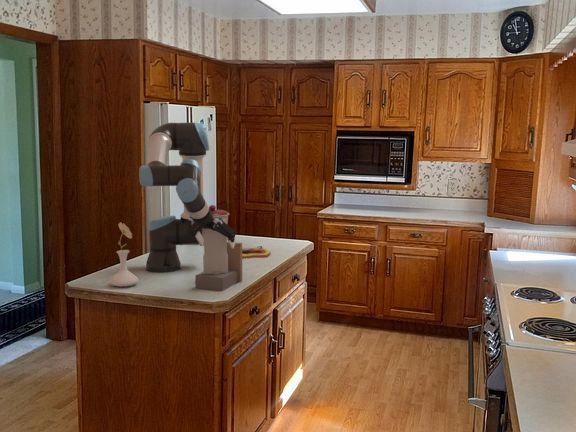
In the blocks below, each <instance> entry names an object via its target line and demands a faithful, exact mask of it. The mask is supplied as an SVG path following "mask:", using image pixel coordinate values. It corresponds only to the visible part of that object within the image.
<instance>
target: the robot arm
mask: <svg viewBox="0 0 576 432" xmlns="http://www.w3.org/2000/svg"><path fill="white" fill-rule="evenodd" d="M208 136H209V135H208V131H207V125H206V124H205V123H202V122H167V123H164V124H161V125H159V126H158V127H156V128H155V129H154V130H153V131H151V134H149V137H148V140H147V145H148V148H149V149H148V154H147V163H146V165H140V167H139V170H138V171H139V172H138V175H139V183H140V185H141V186H143V187H175V191H176V194H177V196H178V198H179V200H180V201H181V202H182V204H183V212H182V213H181V214H180V218H177V217H176V215H163V216H158V217H154V218H152V219H150V221H149V222H148V224H149V225H148V233H149V238H148V239H149V253H148V257H147V259H146V263H145V269H146V271H148V272H154V273H165V272H166V273H167V272H174V271H178V270H180V269H181V264H182V263H181V260H180V258H179V255H178V252H177V246H192V245H193V246H195V245H196V246H198V245H200V247H204V238H203V237H202V228H204V229H211V230H213V231H217V232H219V233H220V234H222V235H224V236H225V237H227V242H229V244H230V246H231V248H233V249H234V246H235V241H236V240H235V239H236V235H237V231H236V230H235V229H234V228H232V227H231V226H230V225H229V224H228V223H227V224H226V223H225V222H224V221H223V220H222V219H221V218H219V220H215V219H214V218H213V215H212V212H211V211H210V209H209V207H210V206H209V205H208V203H207V202H206V200H205V198H204V166H203V165H204V163H203V162H204V161H203V160H204V157H206V155H207V152H208V151H210V144H209V137H208ZM170 151H178V156H180V157H181V158H182V162H181V163H180V165H177V164H176V165H168V160H169V159H168V158H169V152H170ZM214 225H215V227H214V228H213V226H214Z"/></svg>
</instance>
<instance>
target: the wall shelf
mask: <svg viewBox="0 0 576 432" xmlns="http://www.w3.org/2000/svg"><path fill="white" fill-rule="evenodd" d="M242 243H243V242H238V241H236V242H235V246H234V249H233V248H231V246H230V244H229V242H228V241H227V254H228V273H223V274H204V273H203V272H204V270H203V271H201V272H199V273H197V274H195V288H197V289H203V290H204V289H205V290H213V291H225V290H226V289H228V288H229V289H230V288H231V287H232V286H234V285H236V284H237V283H241V282H243V259H242Z"/></svg>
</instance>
